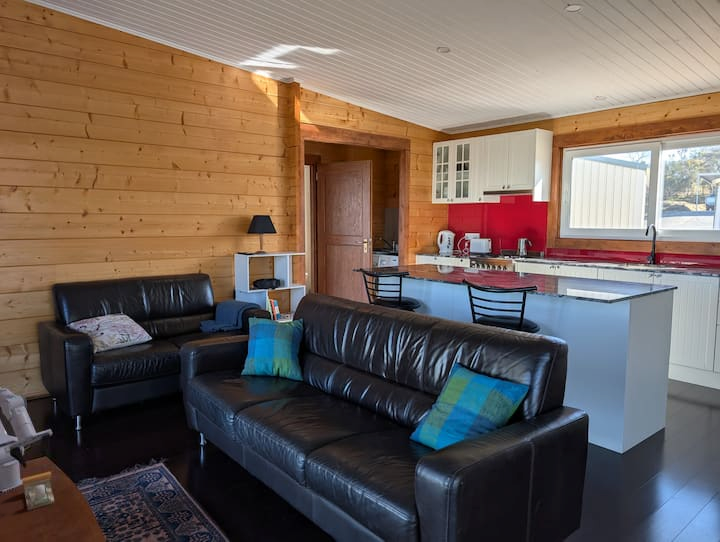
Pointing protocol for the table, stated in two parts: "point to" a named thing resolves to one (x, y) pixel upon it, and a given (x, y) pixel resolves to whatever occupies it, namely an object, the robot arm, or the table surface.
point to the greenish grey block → (40, 495)
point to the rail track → (30, 493)
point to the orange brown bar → (36, 478)
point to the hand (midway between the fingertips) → (37, 461)
